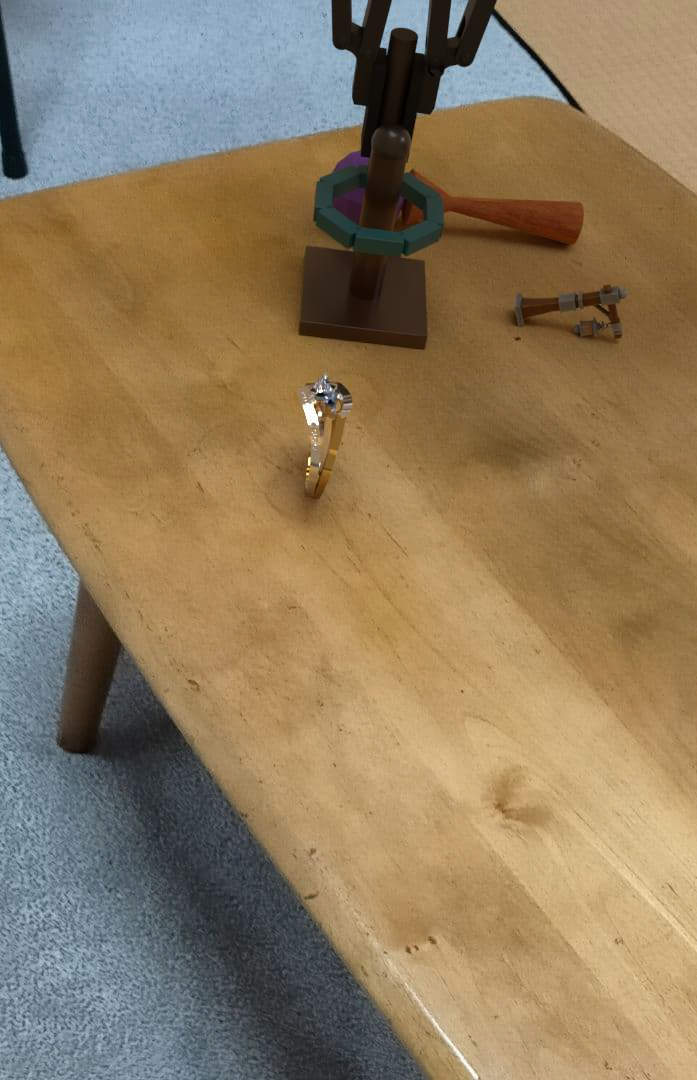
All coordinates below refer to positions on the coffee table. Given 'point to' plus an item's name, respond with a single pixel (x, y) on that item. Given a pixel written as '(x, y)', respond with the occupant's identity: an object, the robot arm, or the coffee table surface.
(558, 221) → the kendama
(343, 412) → the ring
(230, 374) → the coffee table surface
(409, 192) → the ring
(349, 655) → the coffee table surface
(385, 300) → the stand
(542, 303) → the wooden post with brackets
